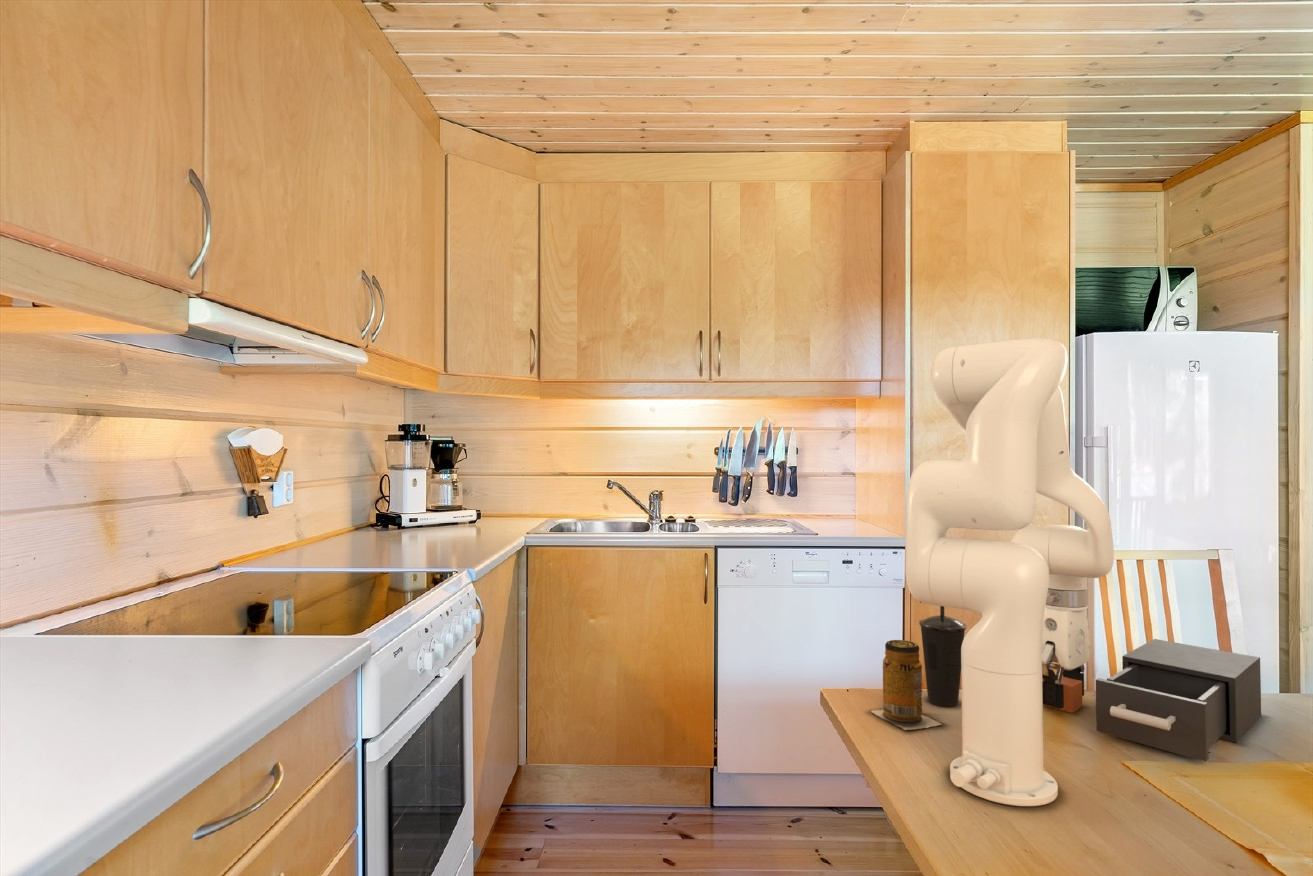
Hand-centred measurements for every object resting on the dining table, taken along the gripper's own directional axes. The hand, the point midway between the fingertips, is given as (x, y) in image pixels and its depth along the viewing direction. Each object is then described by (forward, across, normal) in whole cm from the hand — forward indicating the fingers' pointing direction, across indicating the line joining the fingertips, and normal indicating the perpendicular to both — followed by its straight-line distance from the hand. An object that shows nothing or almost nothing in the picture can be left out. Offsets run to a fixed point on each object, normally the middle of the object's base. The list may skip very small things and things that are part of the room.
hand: (1063, 699), depth 117 cm
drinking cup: (+1, -14, +14) cm, 20 cm away
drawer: (0, -4, -15) cm, 16 cm away
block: (+1, 0, 0) cm, 1 cm away
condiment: (+1, -26, +14) cm, 30 cm away
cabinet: (+1, +12, -15) cm, 19 cm away
